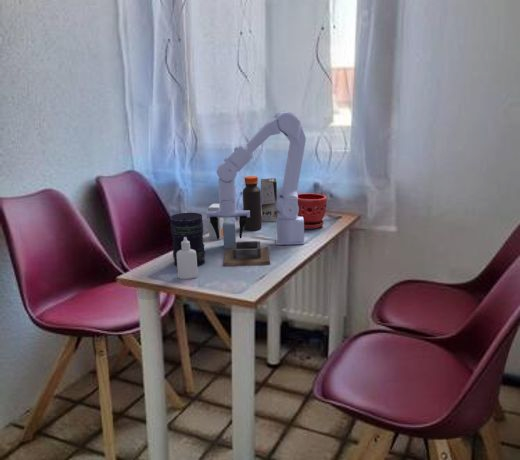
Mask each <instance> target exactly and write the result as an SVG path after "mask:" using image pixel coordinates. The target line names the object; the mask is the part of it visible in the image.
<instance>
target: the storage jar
mask: <svg viewBox="0 0 520 460" xmlns="http://www.w3.org/2000/svg"><path fill="white" fill-rule="evenodd" d="M169 218H170V219H169V220H170V230H171V231H170V232H171V233H170V234H171V236H172V257H173V260H174V261H173V264H174V266H175V267H176V268H177V252H178V251H179V250H182V247H181V242H182V241H183V240H184V237H186V238H187V241H190V249H193V250H195V251H196V256H197V268H198V267H201V266H203V265H204V264H206V259H205V258H206V252H205V251H206V249H205V244H204V236H203V235H204V223H203V215H202V214H201V213H197V212H183V213H181V212H180V213H177V214H174V215H173V214H172V215H171V216H170V217H169Z"/></svg>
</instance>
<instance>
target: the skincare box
mask: <svg viewBox="0 0 520 460" xmlns="http://www.w3.org/2000/svg"><path fill="white" fill-rule="evenodd" d="M211 211H220V208H219V203H212V204H211V205H209V206H208V208H207V212H211ZM223 223H225V218H218V229H219V239H217V236H216V233H215V230H214V228H213V226H212V224H211V223H210V218H209V219H208V232H209V240H213V241H214V240H219V241H220V240H222V239H223Z"/></svg>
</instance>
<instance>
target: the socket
mask: <svg viewBox="0 0 520 460" xmlns="http://www.w3.org/2000/svg"><path fill="white" fill-rule="evenodd" d="M269 251H270V249H269V246H261V241H258V240H250V241H247V240H245V241H236V242H234V244H233V248H225V254H224V261H223V266H225V267H230V266H232V267H233V266H257V265H259V266H261V265H271V258H270V252H269Z"/></svg>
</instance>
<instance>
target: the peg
mask: <svg viewBox="0 0 520 460" xmlns="http://www.w3.org/2000/svg"><path fill="white" fill-rule="evenodd" d="M222 239H223V241H222V242H223V249H226V248H233V244H234V242H237V240H236V239H237V238H236V222H235V221H233V222H232V221H230V222H224V223H223V237H222Z"/></svg>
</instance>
